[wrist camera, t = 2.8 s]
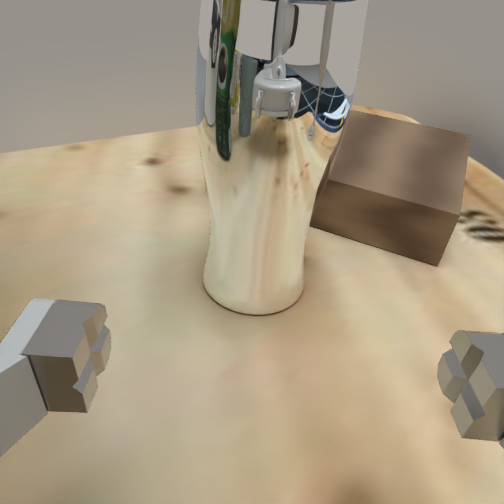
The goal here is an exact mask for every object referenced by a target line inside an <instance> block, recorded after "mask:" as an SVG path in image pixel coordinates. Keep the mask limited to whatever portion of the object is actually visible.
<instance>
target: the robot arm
mask: <svg viewBox="0 0 504 504" xmlns="http://www.w3.org/2000/svg"><path fill="white" fill-rule="evenodd" d="M106 318H107V313H106V309H105V305H103V304H98V303H88V302H78V301H67V300H52V299H43V298H35V299H33V300H32V301H30V302H29V303H28V305H27V306H26V307H25V309H24V310H23V312H22V313H21V314H20V316H19V317H18V319H17V320H16V321H15V323H14V324H13V326H12V327H11V328H10V330H9V331H8V333H7V334H6V336H5V337H4V338H3V340H2V341H1V343H0V457H1V456H2V455H3V454H4V453H5V452H6V451H7V450H8V449H9V448H11V447H12V446H13V445H14V444H15V443H16V442H17V441H18V440H19V439H20V438H22V437H23V436H24V435H25V434H26V433H27V432H28V431H29V430H30V429H31V428H33V427H34V426H35V425H36V424H37V423H38V422H39V421H40V420H41V419H42V418H44V417H45V416H46V415H47V414H48V412H47V411H54V412H79V413H88V410H89V408H90V405H91V403H92V400H93V398H94V395H95V393H96V390H97V388H98V385H97V380H96V376H97V375H99V374H100V373H101V372H103V371H104V370H105V367H106V365H107V362H108V359H109V354H110V349H111V335H110V330H109V329H108V328H107V327H106V326H105V325H104V323H105V320H106ZM449 342H450V344H451V346H452V349H450V350H449V351H447V352H445V353H444V354H442V357H441V359H440V361H439V363H438V373H437V376H438V381H439V385H440V388H441V390H442V393H443V394H444V395H445V396H446V397H447V398H448V399H449V400H450V401H452V402H453V404H452V407H451V410H450V412H451V414H452V417H453V419H454V421H455V424H456V426H457V428H458V431H459V433H460V435H461V438H466V439H477V440H487V441H498V442H500V443H499V444H500V445H501V446H502V447H503V448H504V333H496V332H480V331H465V330H458V331H457V332H455V333H454V334H453V336H452V338H451V339H450V341H449Z"/></svg>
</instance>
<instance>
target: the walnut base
mask: <svg viewBox="0 0 504 504" xmlns="http://www.w3.org/2000/svg"><path fill="white" fill-rule="evenodd" d="M469 143H470V135H467V134H461V133H457V132H452V131H448V130H443V129H438V128H434V127H428V126H424V125H420V124H415V123H410V122H406V121H401V120H396V119H392V118H387V117H382V116H378V115H373V114H368V113H364V112H359V111H354V110H350V114H349V118H348V122H347V126H346V130H345V134H344V137H343V140H342V143H341V146H340V149H339V152H338V155H337V158H336V160H335V163H334V166H333V168H332V171H331V173H330V176H329V178H328V181H327V183H326V186H325V188H324V191H323V193H322V195H321V198H320V200H319V203H318V205H317V207H316V210H315V212H314V215H313V218H312V220H311V223H310V226H312V227H315V228H319V229H322V230H325V231H328V232H331V233H334V234H337V235H341V236H344V237H347V238H350V239H353V240H356V241H359V242H363V243H366V244H369V245H372V246H375V247H378V248H381V249H385V250H388V251H391V252H394V253H397V254H400V255H403V256H407V257H410V258H413V259H416V260H419V261H422V262H425V263H429V264H432V265H435V266H438V264H439V262H440V259H441V257H442V255H443V253H444V250H445V248H446V246H447V244H448V241H449V239H450V237H451V235H452V232H453V230H454V228H455V226H456V223H457V221H458V219H459V217H460V212H461V204H462V197H463V189H464V181H465V174H466V166H467V158H468V151H469Z"/></svg>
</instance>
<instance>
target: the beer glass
mask: <svg viewBox="0 0 504 504" xmlns="http://www.w3.org/2000/svg"><path fill="white" fill-rule="evenodd" d="M368 1H369V0H201V11H200V21H199V33H198V47H197V63H196V64H197V65H196V118H197V119H196V121H197V130H198V138H199V147H200V154H201V160H202V166H203V172H204V178H205V184H206V190H207V195H208V201H209V208H210V215H211V233H210V234H211V238H210V244H209V249H208V253H207V257H206V261H205V265H204V270H203V283H204V286H205V289H206V291H207V292H208V294H209V295H210V296H211V297H212V298H213V299H214V300H215V301H216V302H217V303H219V304H220V305H222V306H224V307H226V308H228V309H230V310H233V311H236V312H239V313H244V314H251V315H265V314H272V313H276V312H279V311H282V310H284V309H286V308H288V307H290V306H291V305H293V304H294V303H295V302H296V301H297V300H298V299H299V297H300V295H301V293H302V291H303V287H304V247H305V240H306V236H307V232H308V229H309V226H310V223H311V220H312V218H313V215H314V212H315V210H316V207H317V205H318V203H319V200H320V198H321V195H322V193H323V191H324V188H325V186H326V183H327V181H328V178H329V176H330V173H331V171H332V168H333V166H334V163H335V160H336V158H337V155H338V152H339V149H340V146H341V143H342V140H343V137H344V134H345V130H346V126H347V122H348V118H349V114H350V110H351V106H352V101H353V96H354V90H355V84H356V80H357V74H358V68H359V61H360V54H361V48H362V40H363V32H364V24H365V18H366V12H367V5H368Z"/></svg>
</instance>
